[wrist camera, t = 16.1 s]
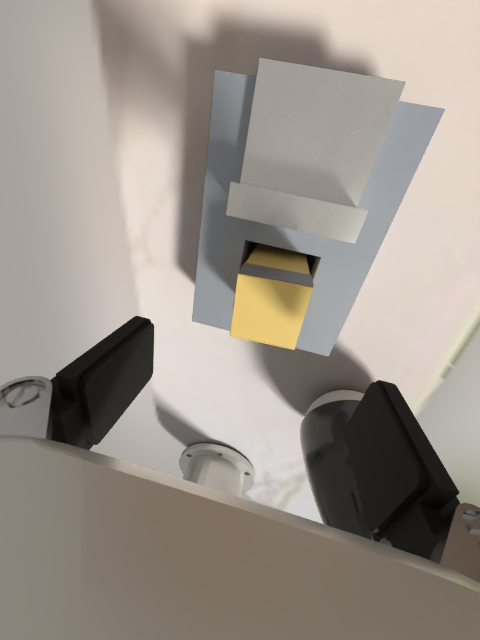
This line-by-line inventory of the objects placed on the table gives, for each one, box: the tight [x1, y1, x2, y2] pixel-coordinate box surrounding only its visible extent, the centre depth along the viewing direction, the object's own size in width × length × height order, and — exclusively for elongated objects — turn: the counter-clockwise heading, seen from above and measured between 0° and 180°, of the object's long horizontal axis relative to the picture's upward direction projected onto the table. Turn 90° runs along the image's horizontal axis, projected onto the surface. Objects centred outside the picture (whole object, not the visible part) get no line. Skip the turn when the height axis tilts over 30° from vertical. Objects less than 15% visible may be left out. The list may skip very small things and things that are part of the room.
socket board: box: [192, 70, 445, 357], centre depth 18 cm, size 16×12×5 cm
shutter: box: [226, 58, 406, 244], centre depth 12 cm, size 7×7×3 cm
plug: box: [230, 243, 314, 350], centre depth 18 cm, size 4×4×10 cm
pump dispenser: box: [300, 390, 374, 541], centre depth 22 cm, size 10×10×15 cm
